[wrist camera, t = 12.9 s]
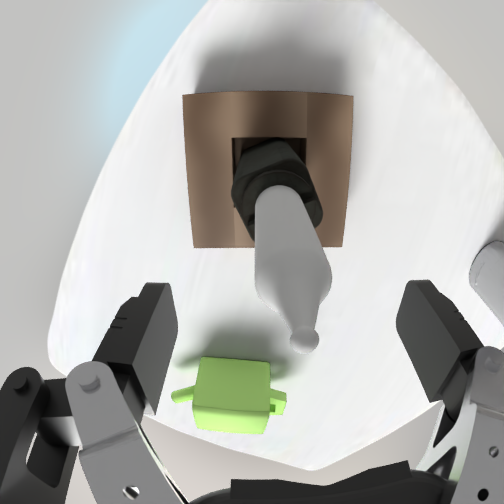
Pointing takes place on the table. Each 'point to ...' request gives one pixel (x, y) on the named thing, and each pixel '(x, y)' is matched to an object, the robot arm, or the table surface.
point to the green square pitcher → (232, 396)
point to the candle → (284, 236)
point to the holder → (256, 131)
